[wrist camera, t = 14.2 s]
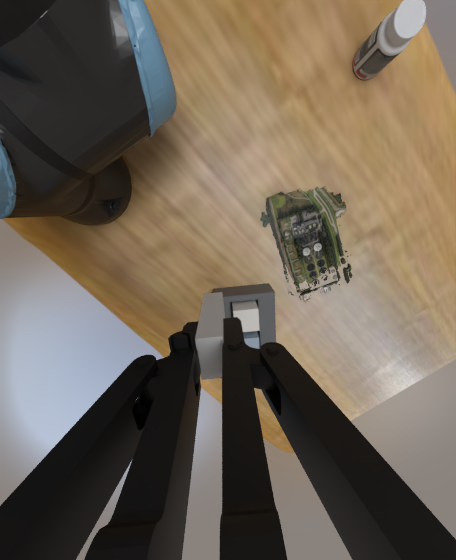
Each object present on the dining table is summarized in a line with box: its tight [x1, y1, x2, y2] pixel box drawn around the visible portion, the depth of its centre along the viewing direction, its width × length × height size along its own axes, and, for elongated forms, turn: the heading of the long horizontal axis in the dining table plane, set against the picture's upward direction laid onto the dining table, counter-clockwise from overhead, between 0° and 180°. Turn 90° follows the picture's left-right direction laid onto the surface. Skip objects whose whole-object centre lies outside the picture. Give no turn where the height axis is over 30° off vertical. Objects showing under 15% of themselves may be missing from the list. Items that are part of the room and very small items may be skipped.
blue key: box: [243, 331, 260, 349], centre depth 44 cm, size 5×5×4 cm
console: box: [213, 284, 276, 348], centre depth 46 cm, size 12×22×5 cm, turn 5°
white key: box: [232, 300, 260, 332], centre depth 41 cm, size 5×5×4 cm
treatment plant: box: [261, 187, 352, 302], centre depth 42 cm, size 25×18×4 cm
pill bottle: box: [353, 0, 426, 80], centre depth 30 cm, size 5×5×8 cm
